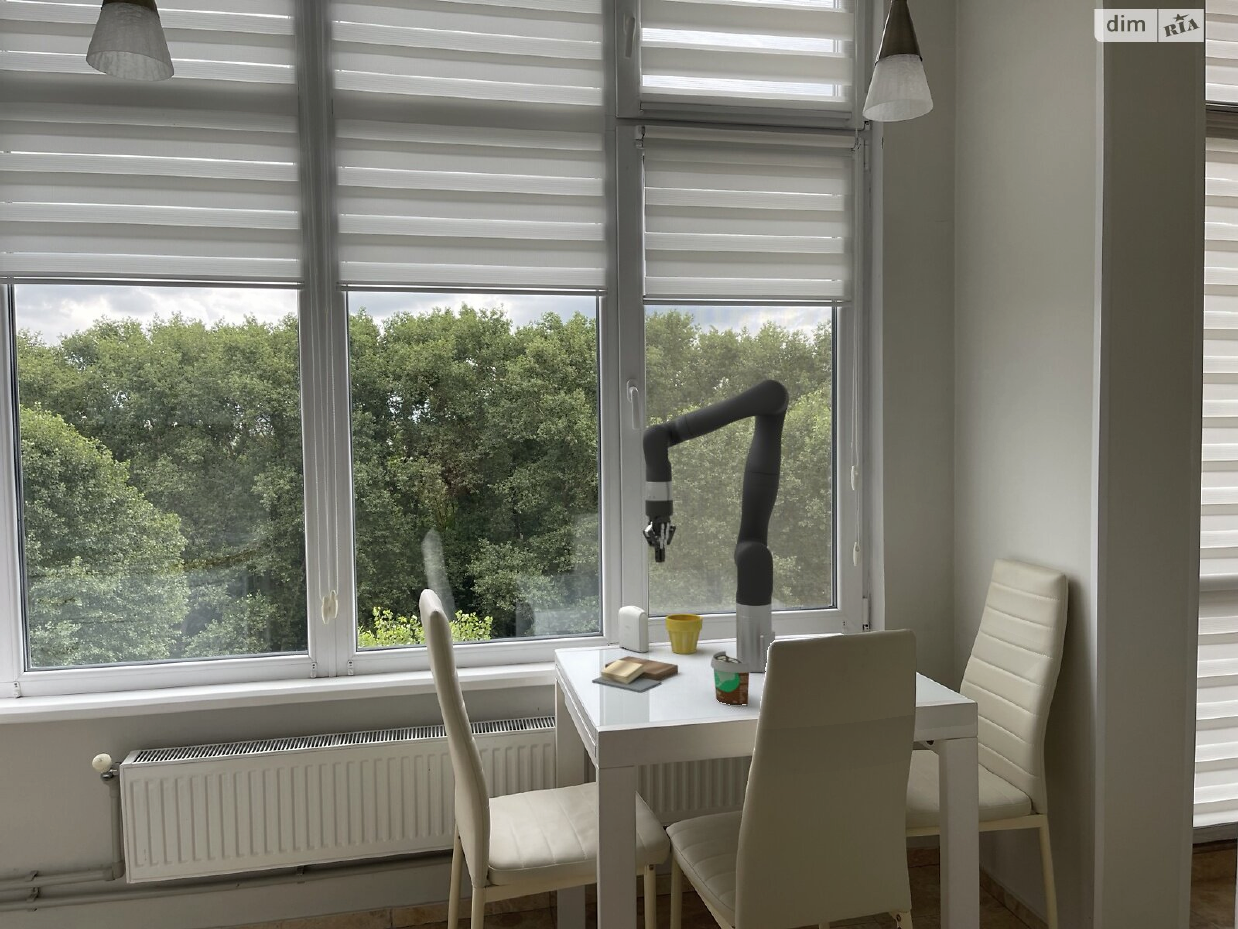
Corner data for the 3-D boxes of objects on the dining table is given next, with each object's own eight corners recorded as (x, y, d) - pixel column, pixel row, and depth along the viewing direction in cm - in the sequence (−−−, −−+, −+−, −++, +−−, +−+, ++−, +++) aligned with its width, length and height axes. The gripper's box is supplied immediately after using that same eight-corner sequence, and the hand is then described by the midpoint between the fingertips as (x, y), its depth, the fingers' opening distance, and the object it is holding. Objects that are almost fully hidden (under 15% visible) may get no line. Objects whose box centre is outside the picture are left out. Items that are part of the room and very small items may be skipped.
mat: (661, 683, 212) (661, 681, 212) (640, 692, 205) (640, 690, 205) (613, 674, 221) (613, 672, 221) (592, 682, 214) (592, 680, 214)
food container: (701, 695, 202) (701, 653, 202) (725, 692, 204) (724, 650, 204) (726, 711, 191) (726, 666, 190) (751, 707, 193) (750, 663, 192)
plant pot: (701, 646, 248) (701, 613, 247) (703, 655, 238) (703, 620, 237) (665, 646, 248) (665, 613, 248) (666, 656, 238) (665, 621, 238)
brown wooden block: (677, 672, 221) (677, 665, 221) (655, 682, 213) (655, 674, 213) (628, 663, 231) (628, 656, 231) (605, 672, 223) (605, 664, 223)
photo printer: (616, 647, 249) (615, 605, 248) (627, 644, 252) (627, 602, 251) (639, 654, 241) (639, 610, 240) (651, 651, 244) (650, 608, 243)
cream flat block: (643, 671, 215) (642, 664, 215) (627, 684, 210) (626, 676, 210) (618, 666, 220) (617, 659, 220) (602, 679, 215) (600, 671, 215)
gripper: (656, 500, 224) (657, 566, 224) (684, 497, 234) (685, 560, 235) (633, 499, 228) (634, 564, 229) (661, 496, 239) (662, 558, 239)
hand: (660, 562), depth 232 cm, fingers closed
